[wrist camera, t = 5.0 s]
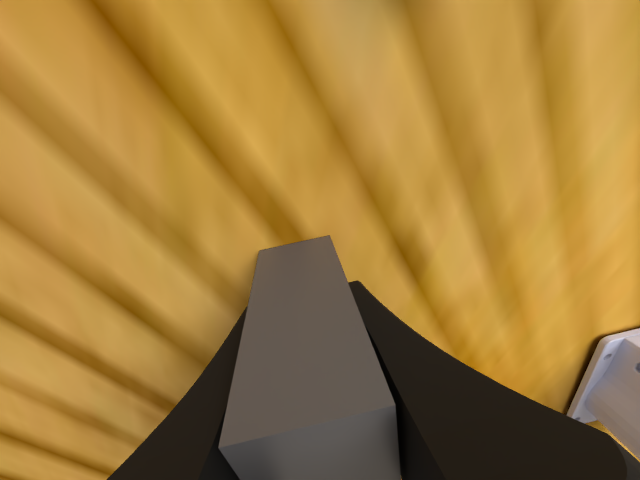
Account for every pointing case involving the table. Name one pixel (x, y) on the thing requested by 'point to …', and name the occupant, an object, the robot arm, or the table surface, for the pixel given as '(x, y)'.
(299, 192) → the table surface
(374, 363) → the scraper
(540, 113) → the table surface
